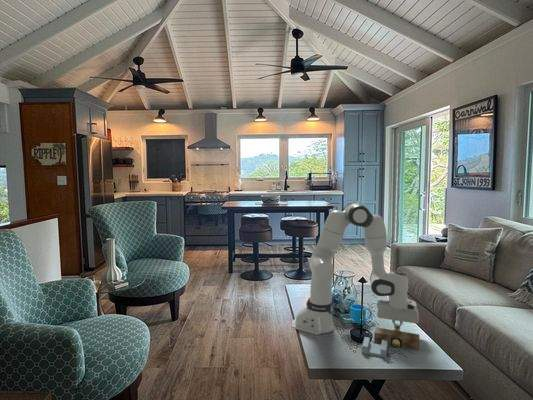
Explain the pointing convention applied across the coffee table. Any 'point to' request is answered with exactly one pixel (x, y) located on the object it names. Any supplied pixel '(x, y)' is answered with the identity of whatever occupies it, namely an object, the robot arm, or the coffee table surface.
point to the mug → (358, 313)
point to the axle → (396, 341)
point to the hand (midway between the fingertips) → (397, 328)
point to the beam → (407, 338)
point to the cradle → (374, 348)
